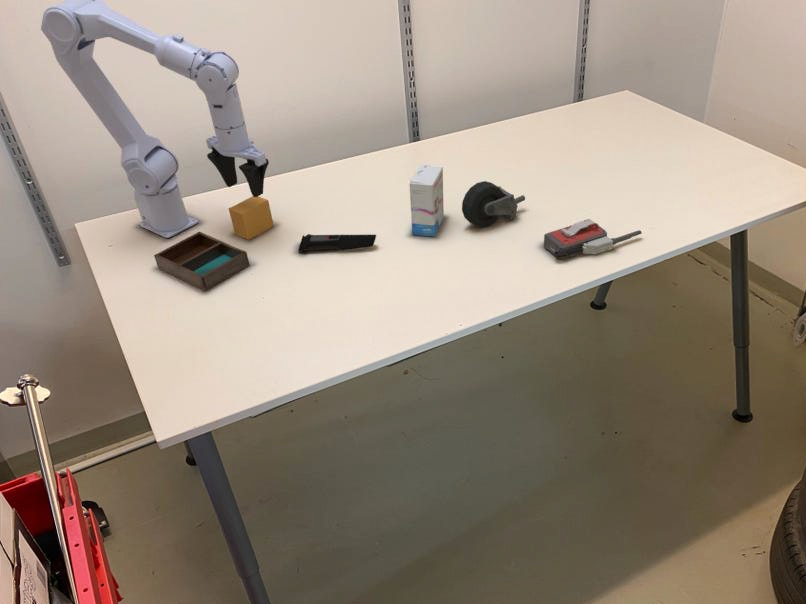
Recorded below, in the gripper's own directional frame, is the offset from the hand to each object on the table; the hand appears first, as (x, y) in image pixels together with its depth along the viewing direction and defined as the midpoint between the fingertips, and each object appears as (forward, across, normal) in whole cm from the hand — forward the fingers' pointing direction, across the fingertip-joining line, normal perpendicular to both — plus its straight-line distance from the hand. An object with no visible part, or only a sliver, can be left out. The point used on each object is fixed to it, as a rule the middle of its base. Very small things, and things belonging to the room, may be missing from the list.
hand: (245, 189), depth 144 cm
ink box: (+9, -29, -22) cm, 37 cm away
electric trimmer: (+9, -19, -4) cm, 22 cm away
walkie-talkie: (+9, -60, -34) cm, 70 cm away
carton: (+9, 0, 0) cm, 9 cm away
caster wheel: (+9, -39, -32) cm, 51 cm away
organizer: (+9, -2, +15) cm, 18 cm away
